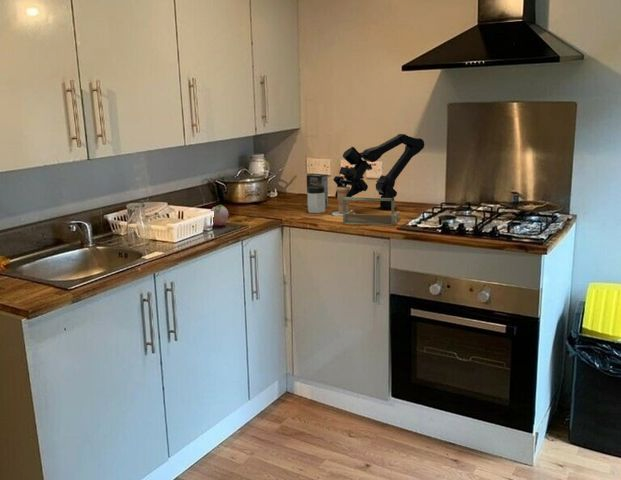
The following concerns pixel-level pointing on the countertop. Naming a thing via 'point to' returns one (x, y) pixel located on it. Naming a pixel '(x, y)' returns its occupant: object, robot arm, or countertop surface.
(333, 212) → the saucer
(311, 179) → the coffee box
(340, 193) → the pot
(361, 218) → the box
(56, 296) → the countertop surface
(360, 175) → the robot arm
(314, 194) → the jar
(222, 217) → the decorative fruit
